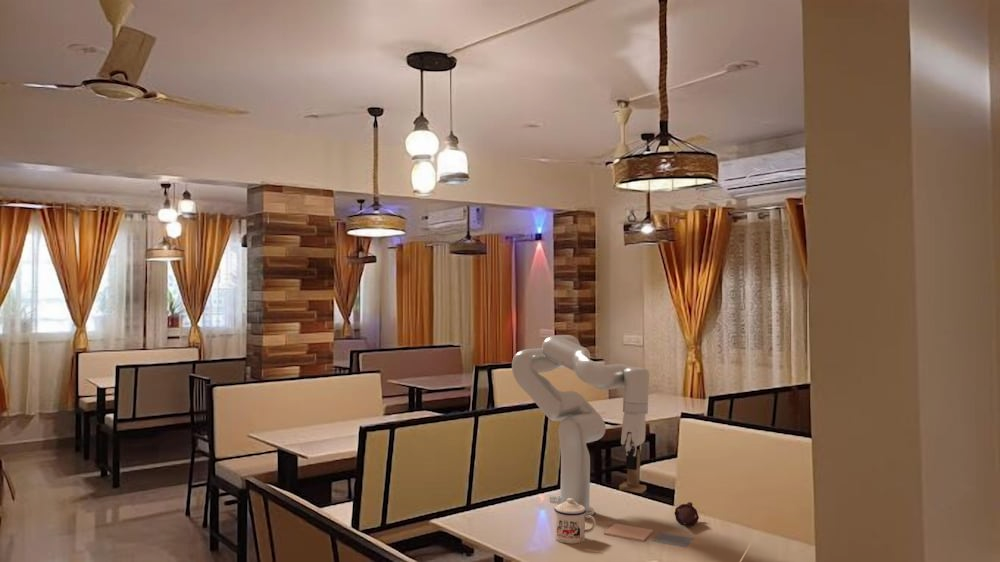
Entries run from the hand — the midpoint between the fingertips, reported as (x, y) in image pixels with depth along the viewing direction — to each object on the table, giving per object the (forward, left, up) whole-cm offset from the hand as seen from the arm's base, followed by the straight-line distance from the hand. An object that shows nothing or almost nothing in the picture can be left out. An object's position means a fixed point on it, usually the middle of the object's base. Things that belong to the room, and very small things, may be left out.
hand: (633, 467), depth 220 cm
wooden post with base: (0, 0, -7) cm, 7 cm away
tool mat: (+14, -4, -19) cm, 23 cm away
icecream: (+13, +12, -19) cm, 26 cm away
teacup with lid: (-11, -18, -19) cm, 29 cm away
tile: (+1, -6, -19) cm, 19 cm away
